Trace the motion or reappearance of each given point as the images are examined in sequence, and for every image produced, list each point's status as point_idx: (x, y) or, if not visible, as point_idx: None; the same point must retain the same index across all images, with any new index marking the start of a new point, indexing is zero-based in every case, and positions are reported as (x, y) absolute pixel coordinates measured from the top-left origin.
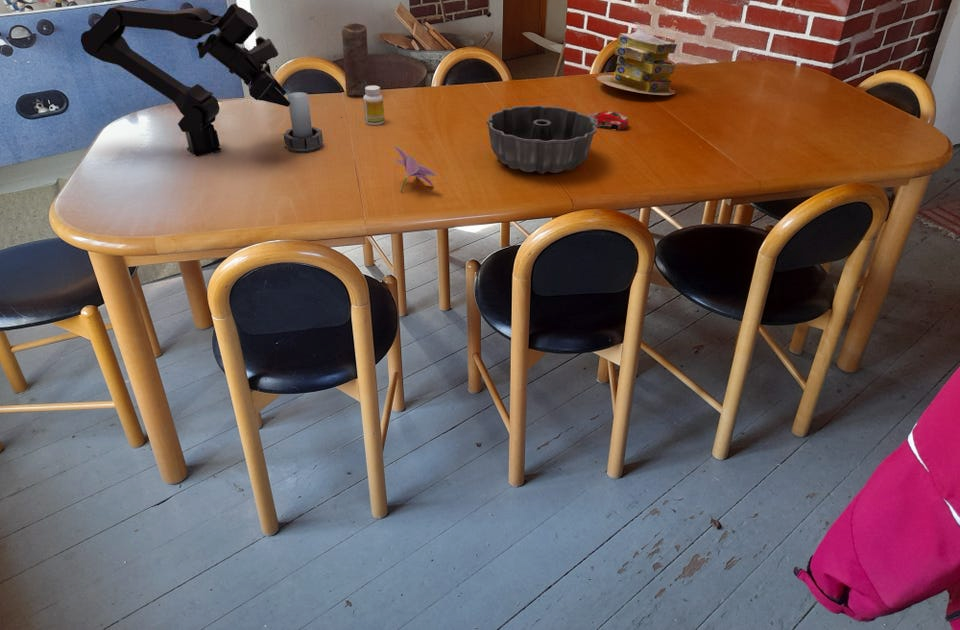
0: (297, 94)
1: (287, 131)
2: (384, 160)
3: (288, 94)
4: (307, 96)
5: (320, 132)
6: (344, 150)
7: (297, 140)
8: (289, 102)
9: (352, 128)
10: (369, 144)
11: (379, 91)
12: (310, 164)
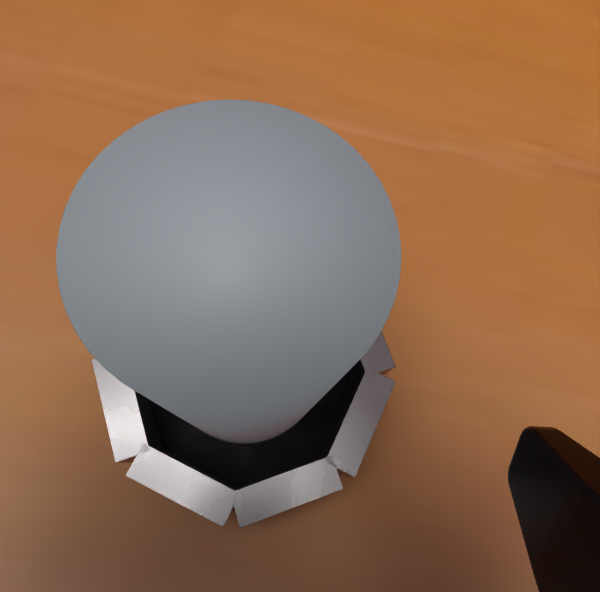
0: (195, 235)
1: (165, 480)
2: (580, 52)
3: (128, 383)
4: (298, 123)
5: None
6: (397, 180)
7: (371, 430)
8: (572, 441)
9: (61, 59)
10: (349, 51)
11: None
12: (565, 402)
